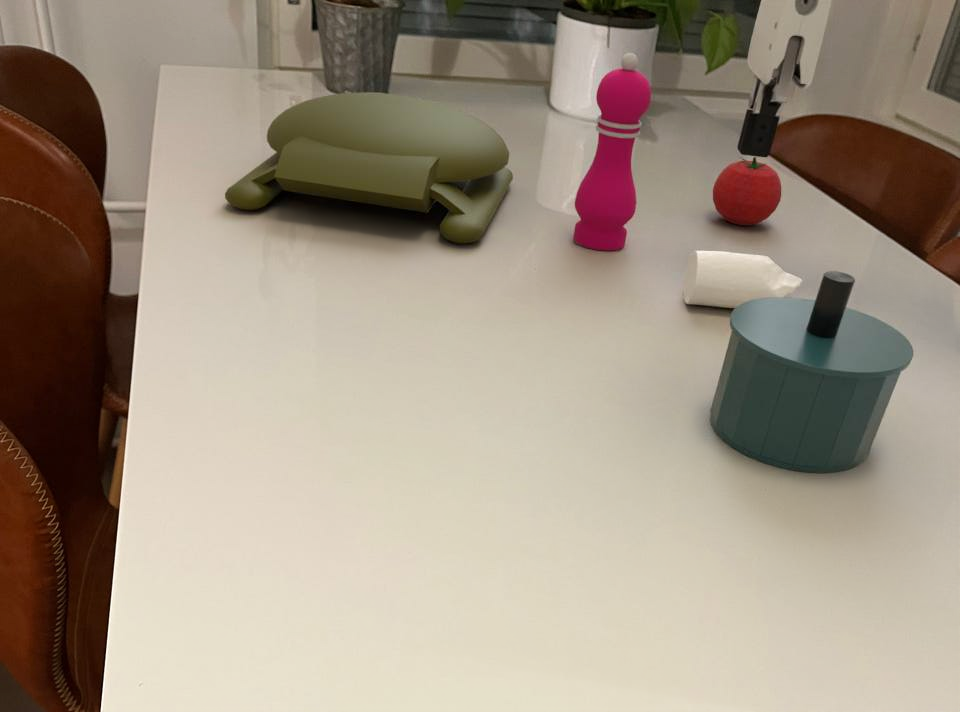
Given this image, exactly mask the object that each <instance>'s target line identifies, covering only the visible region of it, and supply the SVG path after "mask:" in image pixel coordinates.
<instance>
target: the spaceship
mask: <svg viewBox="0 0 960 712" xmlns="http://www.w3.org/2000/svg"><path fill="white" fill-rule="evenodd" d="M266 132H267V133H266V142H267V144H268V145H269V147H270V148H271V149H272V150H273V151H275V153H273V154H272V155H271V156H270V157H268V158H267V159H266V160H264V161H263V162H261V163H260V164H259V165H258V166H256V167H255V168H253V170H251V171H250V172H248V173H247V174H246V175H244V176H243V177H241V178H240V179H239V180H237V182H235V183H234V184H233V185H232V184H231V186H229V187H228V188H227V189H226V191H225V193H224V199H225V200H226V201H227V202H228V204H229V205H231V206H233V207H234V208H237V209H240V210H243V211H254V210H259V209H261V208H263V207H265V206H267V204H269V203H270V202H271V201H272V200H274V199H275V198H276V197H277V196H278V195H280V194H281V193H282V192H283V191H285V192H291V193H297V194H303V195H310V196H317V197H323V198H329V199H336V200H342V201H350V202H356V203H362V204H369V205H374V206H381V207H387V208H393V209H400V210H408V211H413V212H414V211H415V212H419V213H427V214H428V212H429V211H430V210H431V208H432V207H433V206H434V204H435V203H436V201H437V202H439V203H440V205H442V206H443V207H445V208H446V209H447V210H448V211H447V214H446V215H445V216H444V218H443V219H442V221H441V223H440V224H439V233H440V234H441V235H442V237H444V238H445V239H446V240H448V241H450V242H452V243H456V244H464V245H465V244H471V243H474V242H477V241H478V240H480V239H481V238H482V237H483V235H484V233H485V231H486V230H487V227H488V226H489V223H490V222H491V220H492V218H493V216H494V214H495V213H496V211H497V209H498V207H499V206H500V204H501V202H502V200H503V198H504V196H505V194H506V193H507V190H508V189H509V187H510V185H511V183H512V181H513V178H514V175H513V172H512V171H511V170H510V169H509V168H508V167H506V166H507V165H508V164H509V159H510V152H509V151H510V150H509V149H508V146H507V144H506V142H505V140H504V138H503V137H502V136H501V135H500V134H499V133H498V132H497V131H496V130H495V129H494V128H493V127H492V126H491V125H489V124H488V123H486V122H485V121H483V120H482V119H480V118H478V117H476V116H475V115H473V114H471V113H469V112H467V111H465V110H462V109H459V108H457V107H455V106H452V105H449V104H446V103H443V102H439V101H436V100H433V99H428V98H418V97H414V96H408V95H403V94H402V95H401V94H393V93H387V92H375V91H373V92H372V91H369V92H341V93H336V94H329V95H324V96H318V97H314V98H311V99H307V100H304V101H302V102H300V103H297V104H295V105H292V106H291V107H288V108H286V109H285V110H284V111H282V112H281V113H280V114H278V115H277V116H276V117H275V118H274V119H273V120H272V121H271V123H270V125H269V127H268V129H267V131H266ZM462 181H467V183H466V185H465V186H464V188H463V189H462V190H460V188H458V187H456V186H455V185H454V184H453V182H462Z"/></svg>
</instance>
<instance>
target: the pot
mask: <svg viewBox="0 0 960 712" xmlns="http://www.w3.org/2000/svg"><path fill="white" fill-rule="evenodd" d="M901 372H902V371H901ZM901 372H899V373H896V374H894V375H890V376H885V377H879V378H844V377H836V376H828V375H823V374H817V373H813V372H809V371H805V370H801V369H797V368H794V367H791V366H788V365H785V364H782V363H779V362H777V361H774V360H772V359H770V358H768V357H765V356H763V355H761V354H759V353H758V352H756V351H754V350H752V349H751V348H749V347H748V346H746V345H745V344H744V343H743V342H741V341H740V340H739V339H738V338H737V337H736V336H735V335H734V333H733V331H732V330H731V332H730V337H729V341H728V344H727V347H726V351H725V356H724V358H723V363H722V366H721V370H720V373H719V377H718V381H717V384H716V389H715V392H714V396H713V400H712V404H711V407H710V411H709V413H710V415H709V416H710V418H709V421H710V425H711V427H712V428H713V431H714V433H715V434H716V435H717V436H718V437H719V438H720V439H721V440H722V441H723V442H725V443H726V445H728V446H730V447H731V448H733V449H734V450H735V451H737V452H739V453H741V454H743V455H745V456H747V457H749V458H751V459H753V460H756V461H759V462H760V463H764V464H766V465H770V466H773V467H777V468H781V469H786V470H790V471H794V472H795V471H796V472H803V473H820V474H821V473H823V474H826V473H827V474H828V473H836V472H842V471H846V470H850V469H853V468H854V467H856V466H859V465H860V464H861V463H862V462H863V461H864V460H865V459H866V458H867V457H868V455H870V451H871V450H872V447H873V443H874V441H875V439H876V436H877V433H878V431H879V429H880V426H881V424H882V420H883V418H884V415H885V414H886V410H887V408H888V406H889V403H890V400H891V398H892V395H893V393H894V390H895V388H896V385H897V383H898V380H899V378H900V375H901Z"/></svg>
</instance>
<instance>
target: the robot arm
mask: <svg viewBox="0 0 960 712" xmlns="http://www.w3.org/2000/svg"><path fill="white" fill-rule="evenodd" d="M831 5H832V0H761V1H760V4H759V7H758V11H757V15H756V19H755V23H754V26H753V30H752V35H751V39H750V43H749V48H748V53H747V60H746V62H747V67H748V68H749V69H750V71H751V72H753V74H754V76H753V82H752V85H751V91H750V94H749V99H748V104H747V109H746V111H745V115H744V119H743V123H742V127H741V130H740V135H739V139H738V143H737V151H739V153H740V155H742V156H750V157H756V158H757V157H758V158H768V157H769V156H770V155H771V152H772V151H771V150H772V147H773V143H774V141H775V140H774V139H775V137H776V133H777V129H778V125H779V122H780V119H781V118H780V117H781V115H782V112H783V109H784V106H785V104H786V103H787V102H788V99H789V95H790V92H791V86H792V83H794V85H796V86H797V88H798V89H801V90H806V89H808V87H810V86H811V84H812V83H813V79H814V75H815V71H816V68H817V67H816V66H817V63H818V59H819V55H820V51H821V48H822V43H823V39H824V35H825V32H826V28H827V22H828V18H829V14H830V9H831Z"/></svg>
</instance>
